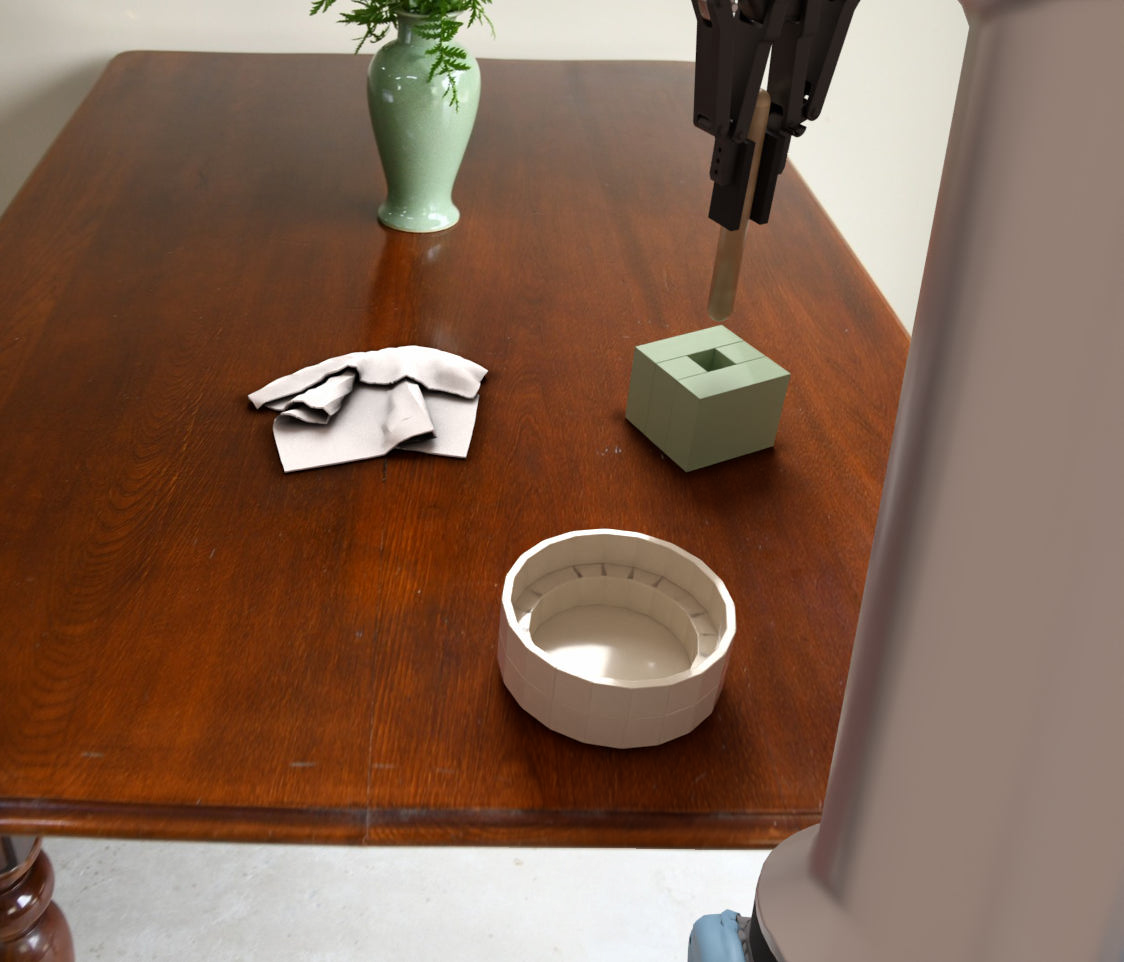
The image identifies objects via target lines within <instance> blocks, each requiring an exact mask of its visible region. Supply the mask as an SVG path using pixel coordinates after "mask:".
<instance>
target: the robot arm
mask: <svg viewBox="0 0 1124 962" xmlns="http://www.w3.org/2000/svg"><path fill="white" fill-rule="evenodd" d="M690 1H691V5H692V9H693V12H694V16H695V19H696V32H695V33H696V34H695V35H696V38H695V59H694V60H695V61H694V85H693V89H694V90H693V112H692V113H693V114H692V123H693V126H694V127H695V128H697V129H699V130H701V131H702V132H705V133H707V134H709V135H710V136H712V137H714V143H713V149H712V154H711V155H712V156H711V162H710V166H709V173H708V174H709V179H710V181H713V186H712V192H711V197H710V203H709V204H710V205H709V209H708V216H707V219H709V220H711V221H713V222H715V223H716V224H718V225H719V226H723V227H724V228H726V229H728V230H729V231H735V230H739V227H740V222H741V217H742V212H743V206H744V201H745V196H746V191H747V186H748V180H749V175H750V170H751V165H752V160H753V155H754V149H755V144H756V142H754V141H752V140H750V139H748V138H747V136H748V133H749V129H750V125H751V121H752V118H753V114H754V110H755V106H756V102H757V99H758V95H759V91H760V88H762V83H763V79H764V76H765V72H766V68H767V65H768V61H769V67H768V75H767V83H766V84H767V85H766V91H767V92H768V94H769V95H770V98H771V105H770V110H769V116H768V121H767V127H766V132H765V138H764V143H763V149H762V154H761V160H760V165H759V171H758V176H757V182H756V187H755V193H754V198H753V204H752V209H751V215H750V220H749V221H752V222H754V223H755V224H758V225H759V226H762V225H765V224H769V220H770V215H771V210H772V205H773V201H774V197H775V191H776V186H777V181H778V177H779V175H782V173H783V172H784V170H785V168H786V164H787V159H788V154H789V150H790V145H791V142H792V141H791V140H792V137H795V138H800V137H802V136H803V135H804V134H805V132H806V130H807V125H803V124H802V123H804V122H806V121H809V122H814V121H816V120H817V119H818V118H819V117H820V115H821V114H822V111H823V107H824V105H825V102H826V98H827V95H828V93H829V90H830V86H831V83H832V80H833V77H834V74H835V71H836V68H837V65H838V62H839V59H840V56H841V53H842V50H843V47H844V44H845V41H846V38H847V35H848V32H849V29H850V26H851V23H852V19H853V16H854V15H855V14H854V13H855V11H856V9H857V7H858V6H859V4H860V3H861V1H862V0H737V2H736V0H690ZM957 1H958V3H959V4H960V5H961V8H962V10H963V13H964V16H965V19H966V22H967V25H968V32H967V36H966V41H965V42H966V43H965V47H964V53H963V58H962V64H961V70H960V73H959V74H960V75H959V79H958V84H957V91H956V96H955V101H954V107H953V110H952V111H953V112H952V116H951V122H950V129H949V134H948V138H947V143H946V149H945V154H944V160H943V166H942V170H941V176H940V182H939V187H938V191H937V197H936V203H935V208H934V212H933V213H934V214H933V219H932V224H931V230H930V236H929V240H928V245H927V251H926V256H925V261H924V267H923V272H922V277H921V283H920V288H919V292H918V293H919V294H918V299H917V304H916V310H915V316H914V320H913V326H912V331H911V336H910V342H909V347H908V352H907V358H906V362H905V363H906V364H905V367H904V368H905V369H904V374H903V379H902V385H901V390H900V396H899V401H898V406H897V411H896V416H895V421H894V427H893V433H892V437H891V443H890V448H889V454H888V459H887V465H886V470H885V476H884V480H883V485H882V491H881V497H880V502H879V508H878V512H877V513H878V514H877V517H876V523H875V529H874V534H873V540H872V544H871V550H870V556H869V560H868V561H869V562H868V567H867V571H866V577H865V583H864V588H863V592H862V593H863V594H862V599H861V604H860V609H859V613H858V614H859V615H858V619H857V625H856V631H855V636H854V642H853V647H852V653H851V658H850V661H849V662H850V663H849V669H848V674H847V678H846V684H845V690H844V695H843V700H842V701H843V702H842V705H841V711H840V717H839V722H838V727H837V732H836V737H835V743H834V749H833V753H832V759H831V764H830V770H829V774H828V780H827V786H826V791H825V797H824V802H823V807H822V813H821V817H820V822H818V823H816V824H813V825H811V826H808V827H806V828H804V829H802V830H799V831H797V832H795V833H793V834H791V835H789V836H788V837H787V838H785V839H783V840H782V841H780V842H779V843H778V844H777V845H776V846H775V847H774V848H773V849H772V850H771V851H770V852H769V854H768V856H767V857H766V858H765V860H764V862H763V863H762V866H761V869H760V873H759V876H758V878H757V882H756V887H755V893H754V900H753V905H752V912H751V916H743V915H741V913H740V912H737V911H735V910H731V909H728V908H727V909H725V910H724V911H722V912H721V913H710V914H709V913H708V914H704V915H702V916H701V917H699V918H698V919H696V920H695V922H694V923H693V924H692V929H691V931H690V934H689V936H688V944H687V962H1124V0H957ZM806 96H808V97H807V98H806Z"/></svg>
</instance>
